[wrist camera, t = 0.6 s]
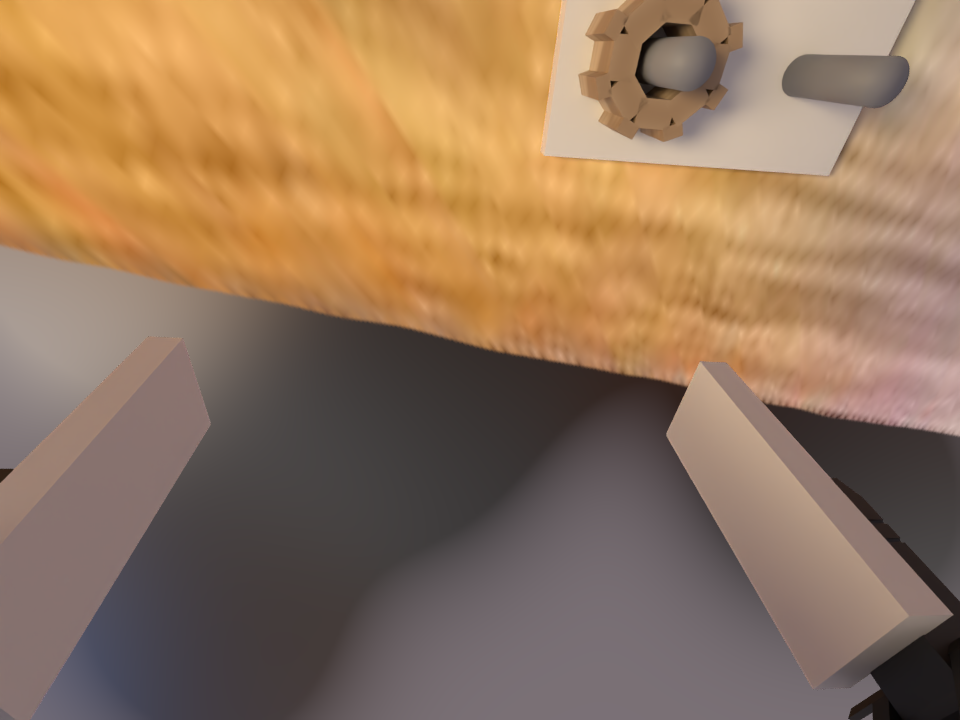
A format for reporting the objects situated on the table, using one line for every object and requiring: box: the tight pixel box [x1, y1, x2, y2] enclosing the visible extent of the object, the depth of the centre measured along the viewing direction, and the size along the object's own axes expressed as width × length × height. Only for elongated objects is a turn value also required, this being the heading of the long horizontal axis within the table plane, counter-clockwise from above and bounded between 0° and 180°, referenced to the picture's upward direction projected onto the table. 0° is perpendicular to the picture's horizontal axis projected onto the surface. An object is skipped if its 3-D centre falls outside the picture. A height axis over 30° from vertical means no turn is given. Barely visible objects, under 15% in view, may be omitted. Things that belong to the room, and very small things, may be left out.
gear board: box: [540, 0, 915, 176], centre depth 27 cm, size 12×22×8 cm, turn 86°
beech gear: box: [578, 0, 743, 142], centre depth 27 cm, size 8×8×4 cm
